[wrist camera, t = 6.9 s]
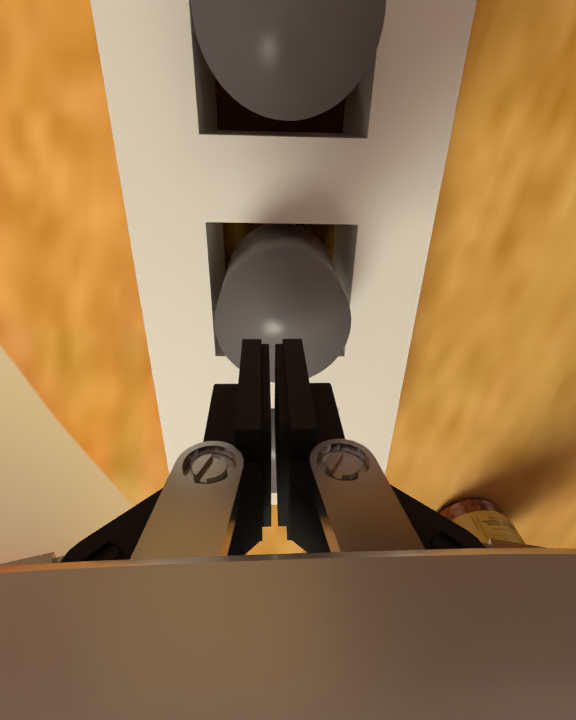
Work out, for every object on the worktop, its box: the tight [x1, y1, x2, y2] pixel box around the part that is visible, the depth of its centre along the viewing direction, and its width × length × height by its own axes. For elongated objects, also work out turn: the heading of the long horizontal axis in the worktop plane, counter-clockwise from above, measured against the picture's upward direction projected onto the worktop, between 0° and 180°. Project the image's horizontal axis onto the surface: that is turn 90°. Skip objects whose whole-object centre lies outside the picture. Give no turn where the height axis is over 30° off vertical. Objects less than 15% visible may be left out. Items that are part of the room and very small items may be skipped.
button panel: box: [90, 0, 477, 505], centre depth 20 cm, size 12×26×6 cm, turn 179°
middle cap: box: [214, 223, 351, 382], centre depth 18 cm, size 5×5×6 cm
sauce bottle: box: [439, 499, 525, 544], centre depth 26 cm, size 7×6×20 cm
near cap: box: [191, 0, 386, 121], centre depth 13 cm, size 5×5×6 cm
